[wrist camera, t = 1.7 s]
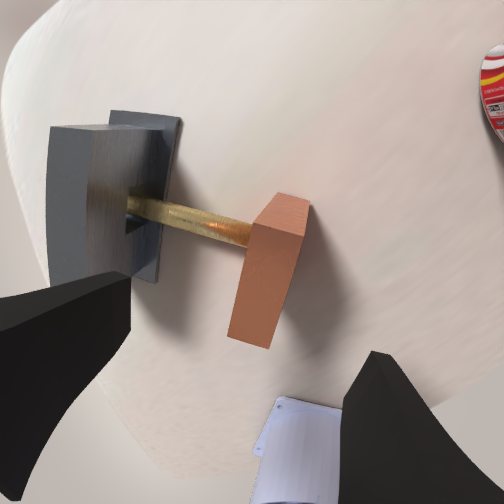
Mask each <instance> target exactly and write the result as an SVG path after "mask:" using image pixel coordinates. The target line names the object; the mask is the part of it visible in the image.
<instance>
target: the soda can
mask: <svg viewBox="0 0 504 504" xmlns="http://www.w3.org/2000/svg"><path fill="white" fill-rule="evenodd" d="M479 89H480V96H481V100H482V104H483V107H484V110H485V113H486V116H487V118H488V120H489V122H490V124H491V126H492V128H493V130H494V131H495V133H496V134H497V136H498V137H499V138H500V140H501V141H502V142H503V143H504V43H502V44H500V45H498V46H496V47H494V48H493V49H491V50H490V51H489V52H488V53H487V54H486V55H485V57H484V59H483V61H482V64H481V67H480V73H479Z"/></svg>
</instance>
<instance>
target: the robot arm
mask: <svg viewBox="0 0 504 504" xmlns="http://www.w3.org/2000/svg"><path fill="white" fill-rule="evenodd" d="M130 331H131V277H130V276H127V275H125V274H122V273H119V272H117V271H112V272H106V273H102V274H97V275H93V276H90V277H86V278H82V279H79V280H75V281H71V282H68V283H64V284H61V285H57V286H53V287H49V288H45V289H41V290H37V291H33V292H29V293H24V294H20V295H16V296H10V297H4V298H0V492H1V493H2V494H3V495H4V496H5V497H6V498H8V499H9V500H10V501H21V498H22V495H23V492H24V490H25V487H26V485H27V482H28V479H29V477H30V474H31V472H32V470H33V468H34V466H35V464H36V462H37V459H38V458H39V456H40V454H41V452H42V450H43V448H44V446H45V445H46V443H47V441H48V439H49V438H50V436H51V434H52V432H53V431H54V429H55V428H56V426H57V424H58V423H59V421H60V420H61V418H62V417H63V415H64V414H65V412H66V411H67V409H68V408H69V406H70V405H71V404H72V403H73V401H74V400H75V399H76V398H77V397H78V396H79V394H80V393H81V392H82V391H83V390H84V389H85V388H86V387H87V385H88V384H89V383H90V382H91V381H92V380H93V379H94V378H95V376H96V375H97V374H98V373H99V372H100V371H101V370H102V369H103V367H104V366H105V365H106V364H107V363H108V362H109V361H110V360H111V358H112V357H113V356H114V355H115V354H116V352H117V351H118V349H119V348H120V346H121V345H122V343H123V342H124V340H125V339H126V337H127V336H128V334H129V332H130ZM280 405H282V406H280ZM252 453H253V454H254V455H255V456H259V457H262V458H261V462H260V466H259V469H258V473H257V477H256V481H255V485H254V488H253V492H252V495H251V499H250V503H249V504H504V491H503V490H502V489H501V488H500V487H499V486H497V485H496V484H495V483H494V482H493V481H492V480H491V479H490V478H489V477H487V476H486V475H485V474H484V473H483V472H482V471H481V470H480V469H479V468H478V467H477V466H476V465H475V464H474V463H473V462H472V461H471V460H470V459H469V458H468V457H467V455H466V454H465V453H464V452H463V451H462V450H461V449H460V448H459V447H458V445H457V444H456V443H455V442H454V441H453V439H452V438H451V437H450V436H449V434H448V433H447V432H446V431H445V429H444V428H443V427H442V425H441V424H440V423H439V421H438V420H437V419H436V417H435V416H434V415H433V414H432V412H431V411H430V409H429V408H428V406H427V405H426V404H425V402H424V401H423V399H422V398H421V396H420V395H419V394H418V392H417V391H416V389H415V388H414V386H413V385H412V383H411V382H410V381H409V379H408V378H407V376H406V375H405V373H404V372H403V371H402V369H401V368H400V366H399V365H398V364H397V362H396V361H395V360H394V359H393V358H392V356H391V355H388V354H384V353H380V352H375V351H371V353H370V354H369V356H368V358H367V360H366V362H365V363H364V365H363V367H362V369H361V370H360V372H359V374H358V376H357V377H356V379H355V381H354V382H353V384H352V386H351V387H350V389H349V391H348V392H347V394H346V395H345V397H344V400H343V408H342V410H341V409H336V408H331V407H326V406H322V405H317V404H313V403H309V402H304V401H300V400H296V399H292V398H288V397H284V396H280V397H278V398H277V400H276V402H275V404H274V406H273V408H272V411H271V413H270V415H269V417H268V419H267V421H266V424H265V426H264V428H263V430H262V432H261V434H260V436H259V438H258V440H257V442H256V444H255V446H254V448H253V451H252Z"/></svg>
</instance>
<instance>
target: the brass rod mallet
mask: <svg viewBox="0 0 504 504" xmlns="http://www.w3.org/2000/svg"><path fill="white" fill-rule="evenodd" d="M309 205H310V201H308V200H304V199H300V198H297V197H293V196H290V195H286V194H282V193H279V192H278V193H277V194H276V195H275V197H274V198H273V199H272V200H271V201H270V203H269V204H268V205H267V206H266V207H265V209H264V210H263V211H262V212H261V213H260V215H259V216H258V217H257V218H256V219H255V221H254V222H253V224H249V223H245V222H242V221H238V220H235V219H231V218H227V217H224V216H220V215H216V214H212V213H209V212H205V211H201V210H197V209H194V208H190V207H186V206H182V205H178V204H175V203H171V202H167V201H163V200H159V199H155V198H151V197H147V196H143V195H139V194H135V193H131V192H129V193H128V203H127V214H130V215H134V216H137V217H141V218H144V219H148V220H151V221H155V222H158V223H162V224H165V225H169V226H172V227H176V228H179V229H183V230H186V231H190V232H193V233H196V234H200V235H203V236H207V237H210V238H214V239H217V240H221V241H224V242H228V243H231V244H235V245H238V246H242V247H245V248H247V251H246V255H245V260H244V264H243V268H242V273H241V277H240V281H239V286H238V290H237V294H236V299H235V303H234V307H233V312H232V316H231V321H230V325H229V329H228V334H227V337H230V338H233V339H236V340H240V341H243V342H246V343H249V344H253V345H256V346H259V347H262V348H266V349H269V347H270V344H271V341H272V338H273V335H274V332H275V329H276V326H277V323H278V320H279V317H280V313H281V310H282V307H283V304H284V301H285V298H286V295H287V292H288V288H289V285H290V282H291V279H292V276H293V272H294V269H295V266H296V262H297V259H298V256H299V253H300V249H301V246H302V242H303V239H304V235H305V229H306V223H307V217H308V211H309Z"/></svg>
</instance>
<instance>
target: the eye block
mask: <svg viewBox="0 0 504 504" xmlns="http://www.w3.org/2000/svg"><path fill="white" fill-rule="evenodd" d="M179 122H180V117H174V116H166V115H158V114H149V113H140V112H130V111H118V110H111V113H110V118H109V125H68V126H51V127H50V136H49V146H48V158H47V174H46V239H47V255H48V268H49V278H50V287H53V286H57V285H61V284H64V283H68V282H71V281H75V280H79V279H82V278H86V277H90V276H93V275H97V274H102V273H106V272H112V271H117V272H119V273H122V274H125V275H127V276H130V277H132V276H134V277H137V278H139V279H142V280H145V281H148V282H150V283H153V284H155V283H156V282H157V278H158V267H159V257H160V247H161V238H162V229H163V224H162V223H158V222H155V221H151V220H148V219H144V218H141V217H137V216H134V215H130V214H127V203H128V193H129V192H131V193H135V194H139V195H143V196H147V197H151V198H155V199H159V200H163V201H166V198H167V191H168V184H169V178H170V172H171V166H172V160H173V154H174V148H175V143H176V137H177V132H178V127H179Z"/></svg>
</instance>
